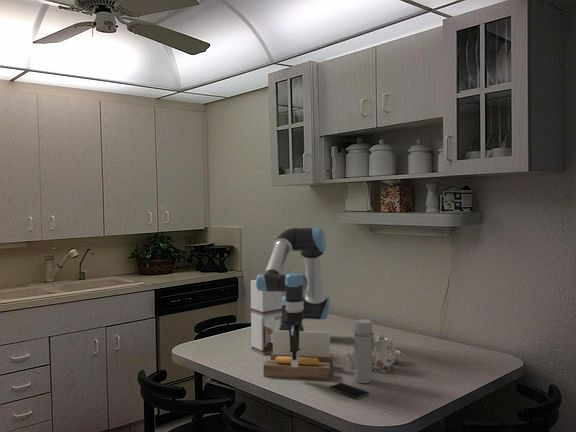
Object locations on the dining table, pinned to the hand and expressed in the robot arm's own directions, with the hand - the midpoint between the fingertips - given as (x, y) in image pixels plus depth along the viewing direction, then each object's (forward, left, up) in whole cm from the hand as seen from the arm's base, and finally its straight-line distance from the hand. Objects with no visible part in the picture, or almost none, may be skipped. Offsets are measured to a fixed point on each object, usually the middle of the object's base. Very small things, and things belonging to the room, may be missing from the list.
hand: (295, 366), depth 215 cm
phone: (+10, +23, -6) cm, 26 cm away
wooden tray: (-11, 0, -6) cm, 12 cm away
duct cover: (-16, 0, +5) cm, 17 cm away
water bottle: (-3, +29, -6) cm, 30 cm away
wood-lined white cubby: (-38, -21, -6) cm, 44 cm away
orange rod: (-5, 0, -1) cm, 5 cm away
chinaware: (-22, +34, -6) cm, 41 cm away
